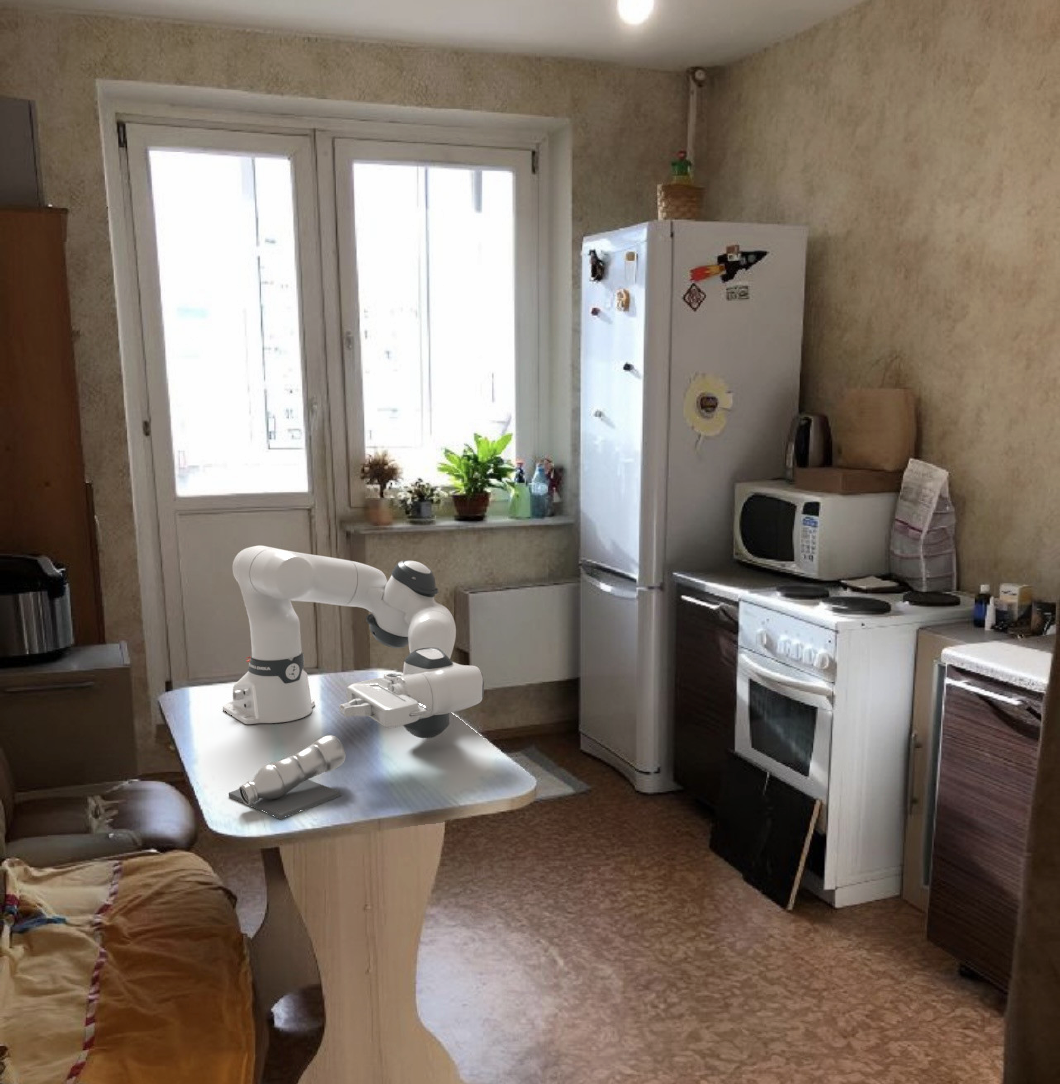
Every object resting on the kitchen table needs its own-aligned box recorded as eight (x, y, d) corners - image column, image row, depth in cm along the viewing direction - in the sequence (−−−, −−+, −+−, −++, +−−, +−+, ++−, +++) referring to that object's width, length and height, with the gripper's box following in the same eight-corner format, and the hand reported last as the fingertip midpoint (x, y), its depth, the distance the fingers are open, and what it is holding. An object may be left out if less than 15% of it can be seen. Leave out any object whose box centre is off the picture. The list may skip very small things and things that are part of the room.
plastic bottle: (326, 730, 187) (230, 776, 175) (343, 732, 182) (245, 780, 170) (337, 761, 188) (242, 810, 176) (354, 764, 183) (257, 814, 171)
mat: (228, 796, 180) (228, 792, 180) (288, 775, 190) (288, 771, 189) (280, 819, 169) (280, 815, 169) (340, 795, 179) (340, 791, 179)
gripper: (433, 727, 183) (364, 742, 176) (388, 701, 200) (323, 713, 193) (432, 694, 182) (362, 708, 175) (387, 671, 199) (322, 682, 192)
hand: (341, 711), depth 184 cm, fingers closed
